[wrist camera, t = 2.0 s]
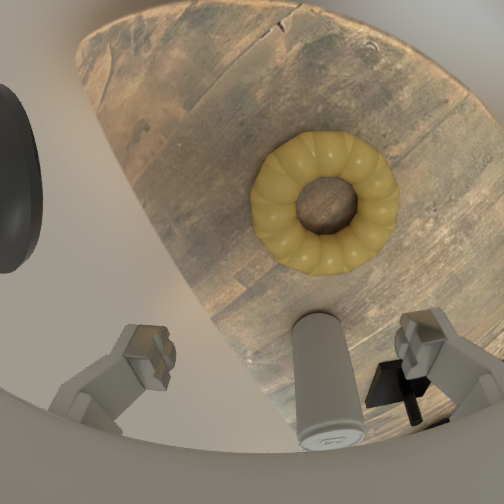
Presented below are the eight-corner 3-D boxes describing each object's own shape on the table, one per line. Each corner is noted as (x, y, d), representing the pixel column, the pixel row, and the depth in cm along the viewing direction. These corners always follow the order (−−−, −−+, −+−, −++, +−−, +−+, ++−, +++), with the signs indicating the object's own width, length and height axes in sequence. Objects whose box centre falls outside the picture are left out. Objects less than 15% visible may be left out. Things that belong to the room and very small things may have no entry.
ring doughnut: (259, 266, 23) (258, 288, 20) (244, 133, 18) (240, 137, 15) (382, 257, 22) (395, 277, 19) (390, 130, 17) (408, 135, 14)
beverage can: (291, 311, 25) (298, 433, 14) (343, 307, 24) (373, 423, 14) (291, 346, 27) (296, 456, 17) (338, 342, 27) (358, 449, 16)
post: (364, 401, 33) (373, 445, 26) (379, 363, 28) (394, 414, 22) (420, 390, 32) (433, 429, 25) (441, 350, 27) (462, 394, 21)
